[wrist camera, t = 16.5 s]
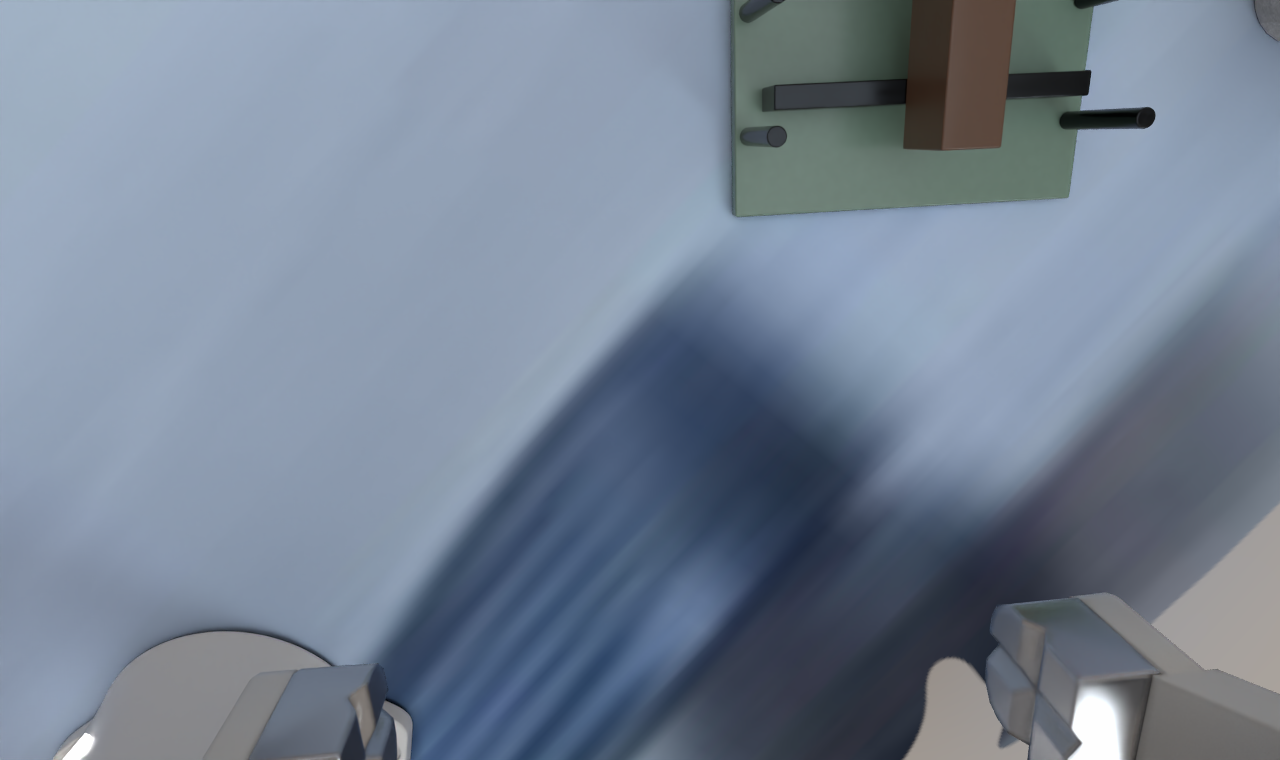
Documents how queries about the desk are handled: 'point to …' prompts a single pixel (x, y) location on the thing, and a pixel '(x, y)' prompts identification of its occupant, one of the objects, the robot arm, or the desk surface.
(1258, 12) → the house plant
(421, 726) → the desk surface
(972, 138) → the knife
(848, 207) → the rack
